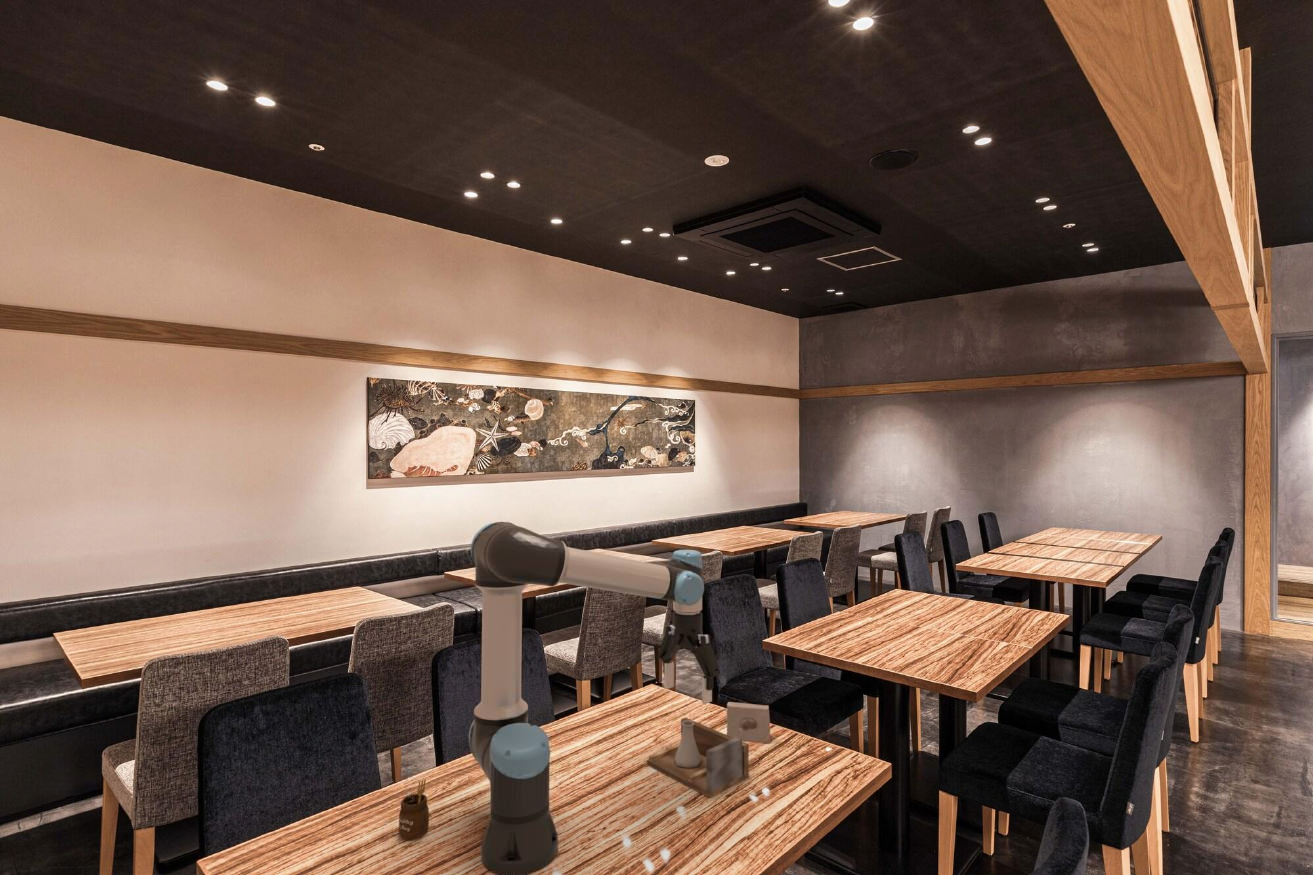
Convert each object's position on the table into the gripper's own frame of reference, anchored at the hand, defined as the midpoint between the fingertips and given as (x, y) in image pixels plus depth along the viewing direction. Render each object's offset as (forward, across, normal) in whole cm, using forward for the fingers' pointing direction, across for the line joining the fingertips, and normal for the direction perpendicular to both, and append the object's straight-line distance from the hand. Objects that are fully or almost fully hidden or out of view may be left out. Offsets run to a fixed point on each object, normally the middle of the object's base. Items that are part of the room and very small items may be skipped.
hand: (687, 694), depth 167 cm
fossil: (+18, 0, -24) cm, 30 cm away
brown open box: (+18, -3, 0) cm, 18 cm away
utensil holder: (+19, +19, +63) cm, 68 cm away
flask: (+17, 0, 0) cm, 17 cm away
